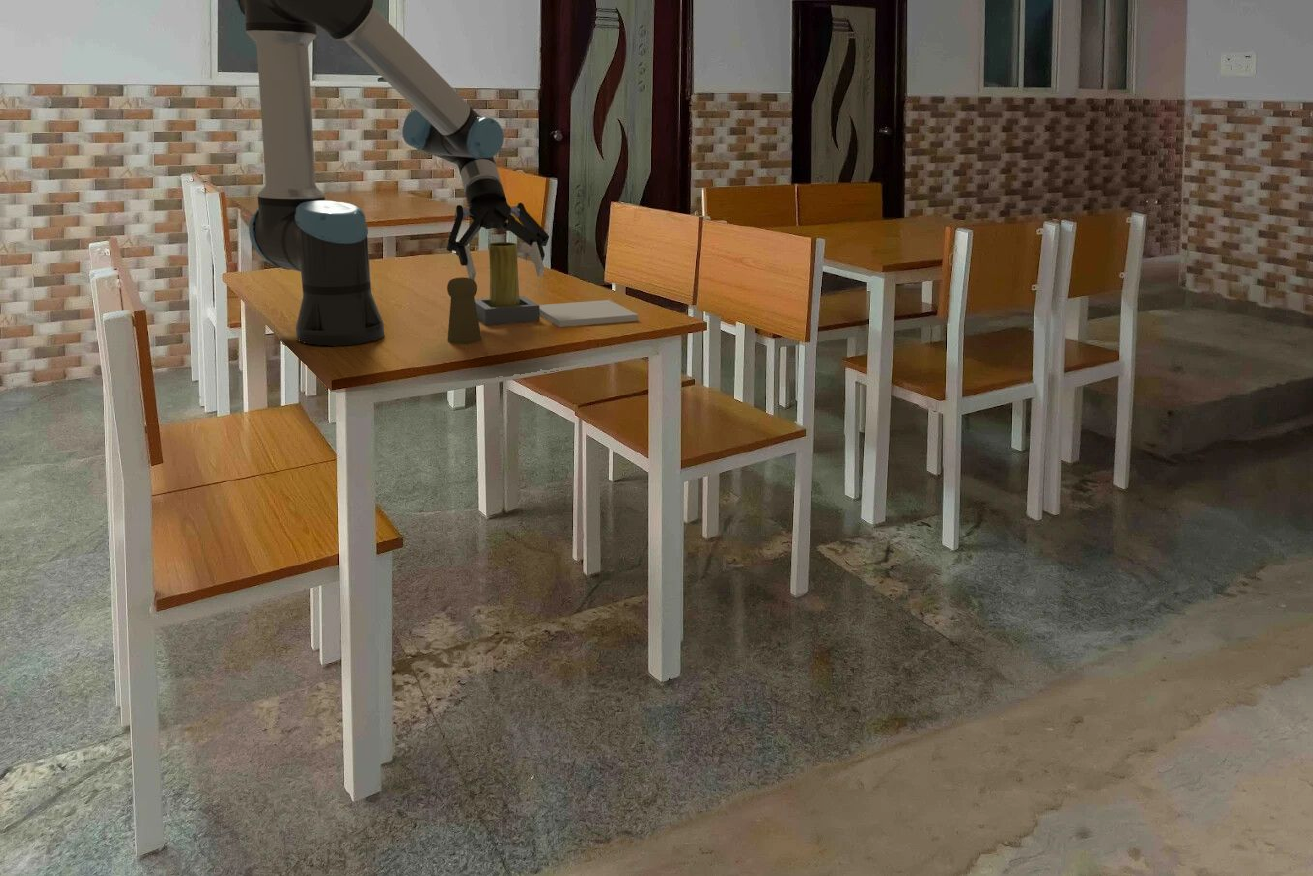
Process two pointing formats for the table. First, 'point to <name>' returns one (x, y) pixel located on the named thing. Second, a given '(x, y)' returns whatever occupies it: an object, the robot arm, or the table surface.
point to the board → (586, 313)
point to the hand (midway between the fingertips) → (507, 275)
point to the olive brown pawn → (463, 311)
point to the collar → (507, 312)
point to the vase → (503, 274)
